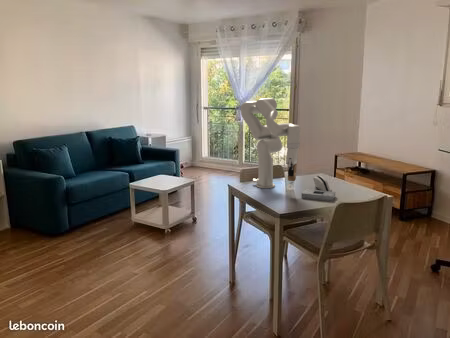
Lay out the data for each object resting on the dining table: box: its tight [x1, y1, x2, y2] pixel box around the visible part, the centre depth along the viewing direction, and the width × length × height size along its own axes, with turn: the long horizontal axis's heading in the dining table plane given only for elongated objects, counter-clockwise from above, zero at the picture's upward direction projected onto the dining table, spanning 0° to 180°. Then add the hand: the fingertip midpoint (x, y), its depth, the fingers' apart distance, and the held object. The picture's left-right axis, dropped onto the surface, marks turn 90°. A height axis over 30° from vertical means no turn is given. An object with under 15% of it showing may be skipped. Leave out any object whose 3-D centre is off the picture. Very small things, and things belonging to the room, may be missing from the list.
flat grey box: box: [301, 188, 336, 202], centre depth 223 cm, size 18×10×3 cm, turn 65°
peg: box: [287, 163, 297, 182], centre depth 227 cm, size 4×4×10 cm
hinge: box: [312, 175, 333, 192], centre depth 239 cm, size 17×5×10 cm, turn 8°
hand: (291, 174), depth 228 cm, fingers closed on peg, 4 cm apart
